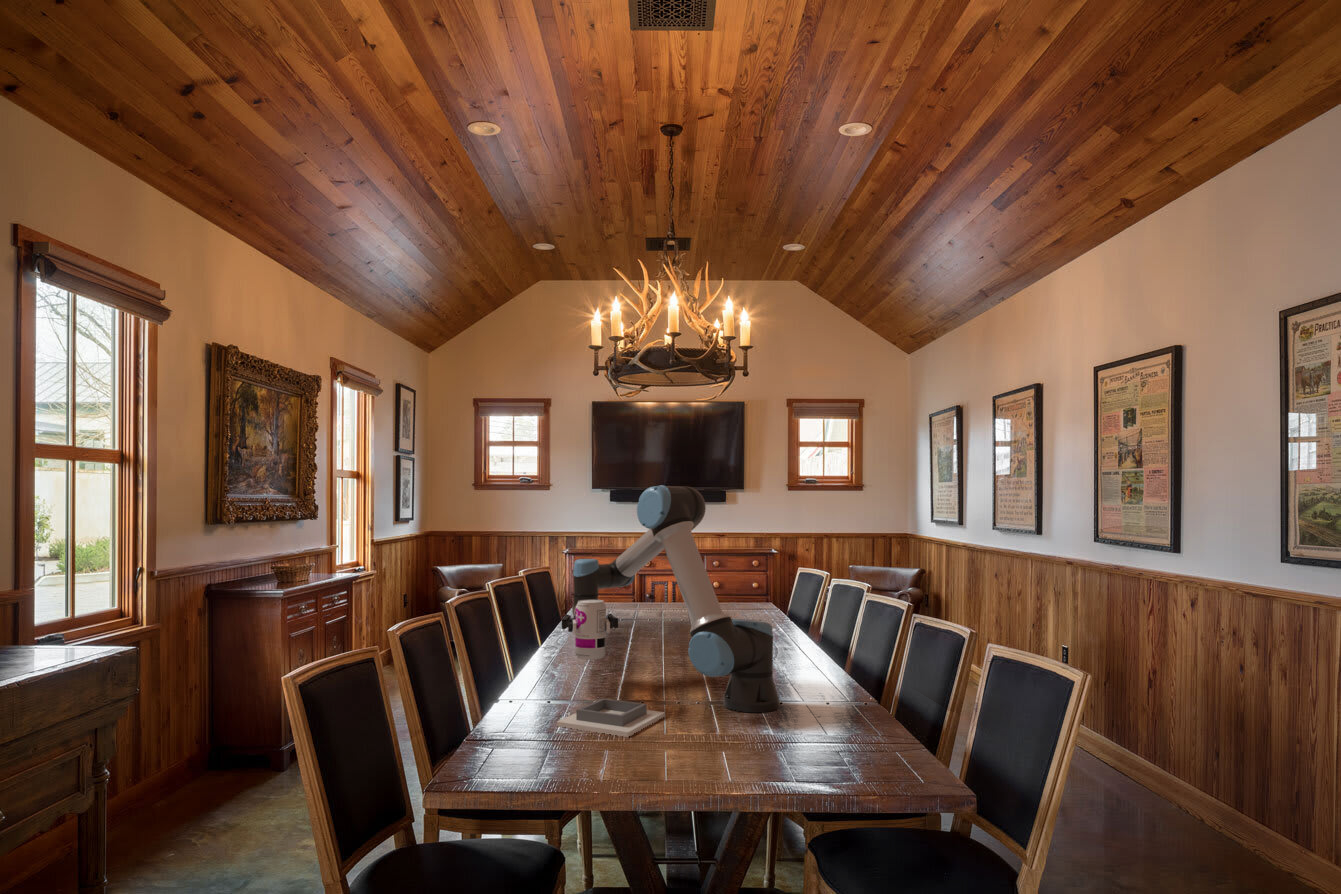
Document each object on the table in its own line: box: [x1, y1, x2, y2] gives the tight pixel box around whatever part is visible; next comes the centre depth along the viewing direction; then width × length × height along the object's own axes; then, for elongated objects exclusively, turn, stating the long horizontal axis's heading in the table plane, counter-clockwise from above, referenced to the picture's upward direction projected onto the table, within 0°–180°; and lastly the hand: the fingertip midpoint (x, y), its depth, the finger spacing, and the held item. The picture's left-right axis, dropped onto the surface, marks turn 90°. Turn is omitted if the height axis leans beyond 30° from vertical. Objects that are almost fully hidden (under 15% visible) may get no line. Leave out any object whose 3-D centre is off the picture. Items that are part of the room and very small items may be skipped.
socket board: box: [556, 697, 666, 738], centre depth 209 cm, size 20×20×4 cm
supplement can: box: [574, 599, 607, 661], centre depth 224 cm, size 8×8×15 cm
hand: (591, 628), depth 219 cm, fingers closed on supplement can, 8 cm apart
